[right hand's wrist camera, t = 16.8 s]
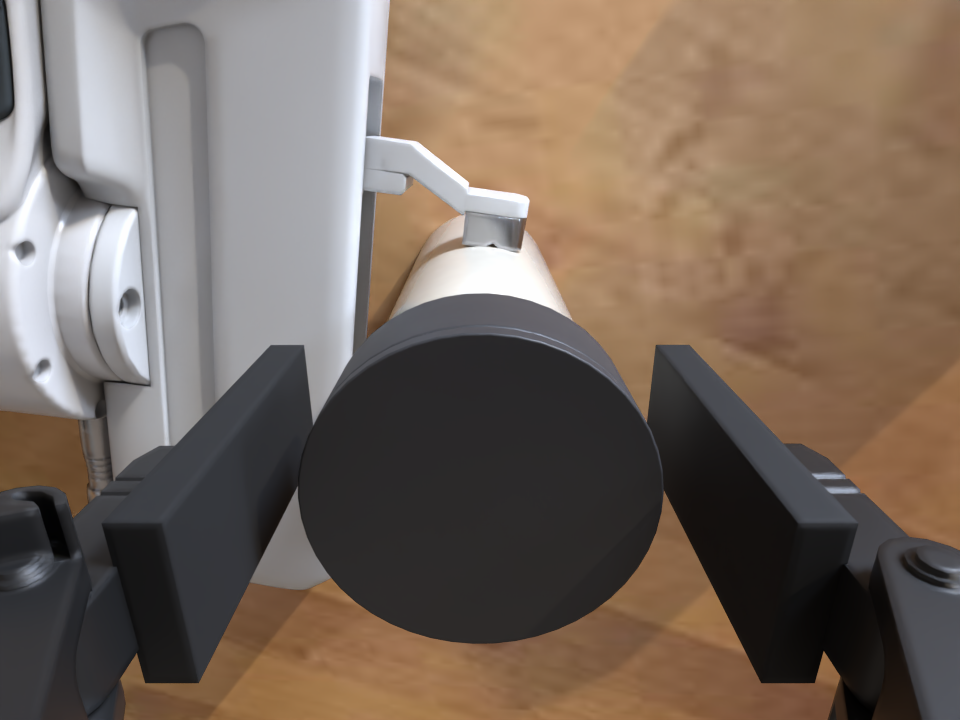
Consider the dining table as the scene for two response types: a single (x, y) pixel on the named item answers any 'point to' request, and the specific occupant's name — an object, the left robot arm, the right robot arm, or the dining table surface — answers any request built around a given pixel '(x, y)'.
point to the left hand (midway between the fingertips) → (508, 328)
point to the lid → (480, 472)
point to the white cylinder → (477, 271)
